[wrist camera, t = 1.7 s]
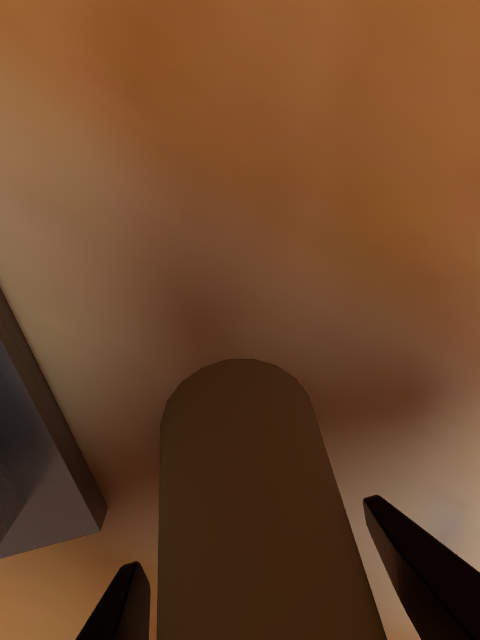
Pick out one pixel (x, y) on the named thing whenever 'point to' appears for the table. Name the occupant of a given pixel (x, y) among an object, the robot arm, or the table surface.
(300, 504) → the cork
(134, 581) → the robot arm
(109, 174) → the table surface
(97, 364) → the table surface
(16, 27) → the table surface
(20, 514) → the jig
